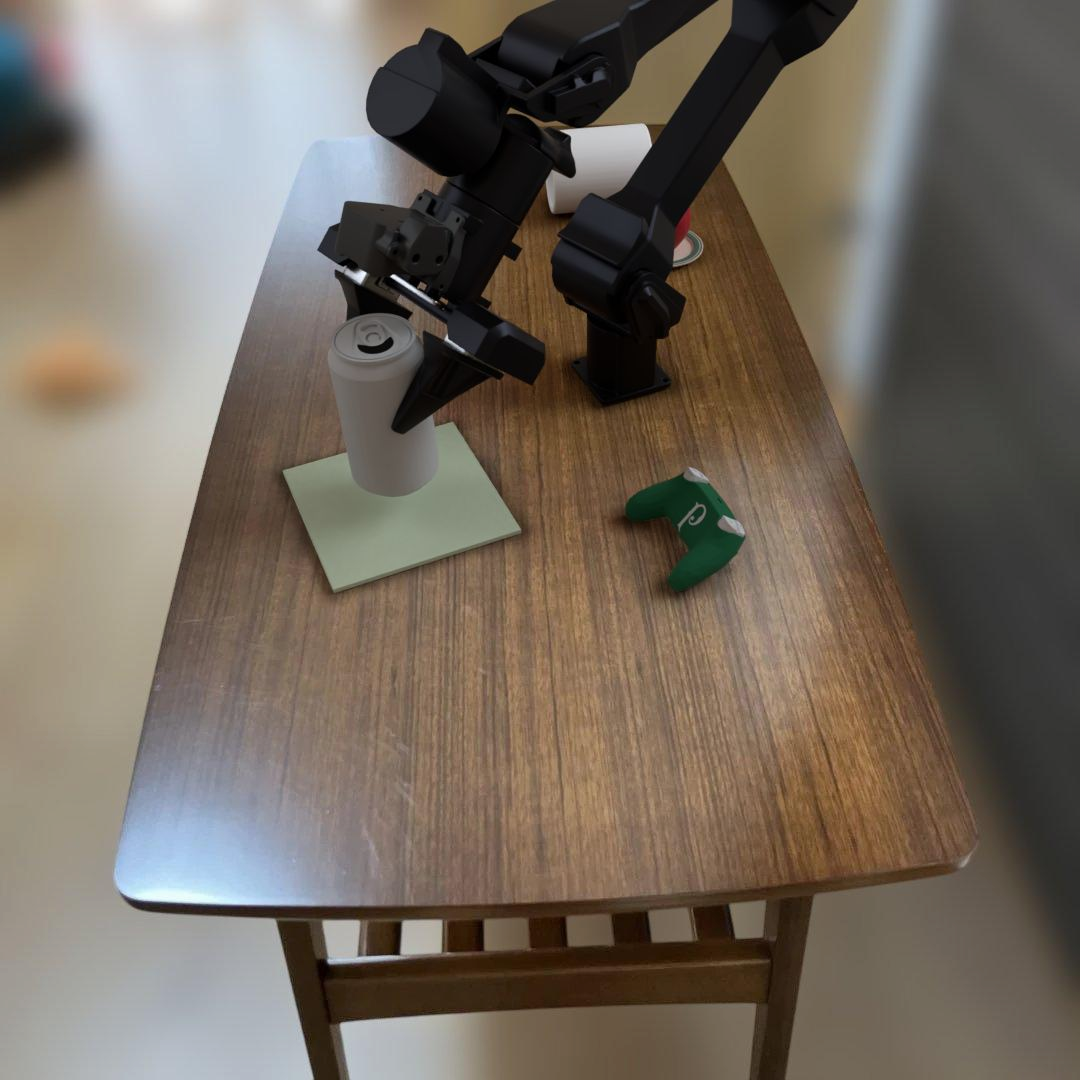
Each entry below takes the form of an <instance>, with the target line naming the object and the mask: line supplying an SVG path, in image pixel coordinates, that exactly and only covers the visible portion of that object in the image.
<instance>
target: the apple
mask: <svg viewBox="0 0 1080 1080" xmlns="http://www.w3.org/2000/svg"><path fill="white" fill-rule="evenodd" d="M691 222H692V213H691V206H690V207H689V208H688V210H687V211H686V213H685V214H684V216H683V217H682V219H681V220H680V222H679V224H678V225H677V227H676V230H675V245H674V260H673V268H676V267H681V266H685V265H688V264H691V263H692V262H694V261H696V260H697V259H699V257H700V256H701V255H702V254H703V250H704V242H703V240H702V239H701V238H700V237H699V236H698V235H697V234H696V233H695V232H693V231H691V230H690V228H691Z"/></svg>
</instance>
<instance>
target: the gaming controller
mask: <svg viewBox="0 0 1080 1080" xmlns="http://www.w3.org/2000/svg"><path fill="white" fill-rule="evenodd" d="M624 508H625V517H626V518H627V519H628V521H631V522H635V523H642V522H643V523H644V522H648V521H654V520H659V519H662V518H667V519H668V521H669V522H670V523H671V525H672V526H673V528H674V529H675V531H676V533H677V535H678V536H679V538H680V539H681V540H682V542H683V543H684V545H685V546H686V548H687V549H688V552H686V554H684V556H682V557H681V559H680V560H679V561H678V562H677V563H676V564H675V566H674V567H673V569H671V572H670V574H669V575H668V577H667V580H666V583H667V584H668V585H669V587H671V588H672V589H673V590H674V591H675V592H676V593H679V592H682V591H685V590H687V589H689V588H692V587H693V586H696V585H697V584H699V583H701V582H704V581H705V580H707V579H708V578H710V577H712V576H713V575H715V574H716V573H717V572H719V571H721V570H722V569H723V568H725V567H726V566H727V565H728V564H729V563H730V562H731V561H732V560H733V559H734V558H735V557H736V556H737V555H738V554H739V551H740V549H741V547H742V545H743V544H744V542H745V540H746V538H747V536H746V532H745V529H744V528H743V525H742V524H741V523H740V522H739V521H738V520H737V519H736V517H735V514H734V513H733V512H732V510H731V508H730V507H729V506H728V504H727V503H726V501H725V500H724V499H723V498H722V496H721V495H720V494H719V493H718V491H717V490H716V489H715V488H714V487H713V485H712V484H711V483H710V480H709V479H708V478H707V476H705V474H704V473H703V472H701V471H699V470H697V469H696V468H693V467H690V466H687V467H686V470H685V471H683V472H682V473H680V474H678V475H676V476H674V477H672V478H669V479H668V478H667V479H666V480H663V481H660V482H657V483H655V484H652V485H649V486H647V487H645V488H642V489H640V490H638V491H636V492H635V494H633V495H631V497H629V499H628V500H627V502H626V503H625V507H624Z"/></svg>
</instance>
